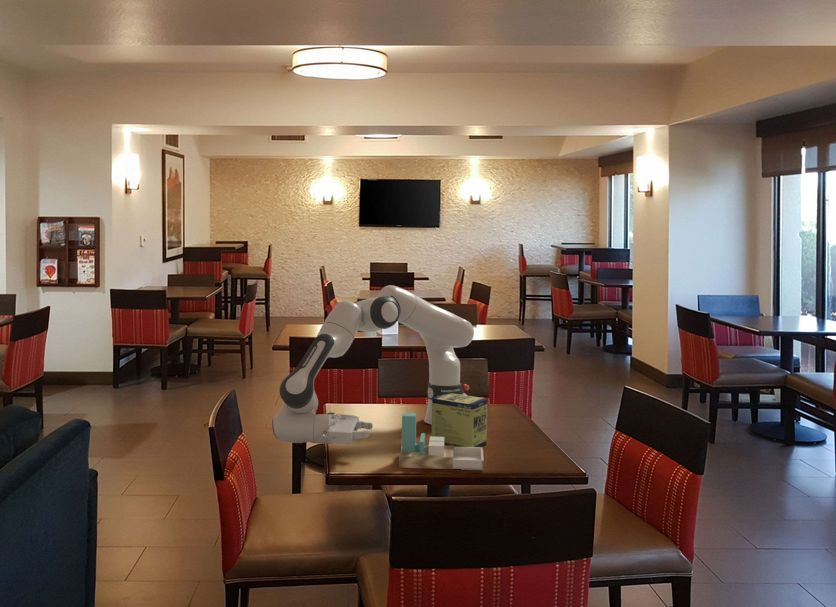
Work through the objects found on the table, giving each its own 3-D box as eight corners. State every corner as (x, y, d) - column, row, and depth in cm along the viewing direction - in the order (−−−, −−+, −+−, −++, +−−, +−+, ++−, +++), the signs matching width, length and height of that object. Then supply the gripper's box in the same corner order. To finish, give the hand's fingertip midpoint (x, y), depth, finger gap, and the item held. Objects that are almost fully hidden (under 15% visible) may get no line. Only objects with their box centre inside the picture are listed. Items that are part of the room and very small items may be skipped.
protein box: (472, 452, 267) (473, 404, 265) (430, 444, 275) (431, 397, 273) (487, 444, 275) (488, 398, 274) (446, 437, 284) (447, 392, 282)
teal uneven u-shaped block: (401, 454, 250) (401, 418, 249) (403, 445, 260) (403, 410, 259) (423, 455, 250) (424, 419, 249) (424, 446, 260) (425, 411, 259)
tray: (452, 469, 248) (453, 459, 248) (453, 455, 262) (453, 446, 262) (483, 470, 248) (483, 460, 247) (482, 456, 262) (482, 447, 261)
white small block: (428, 455, 250) (428, 445, 250) (429, 451, 254) (429, 441, 254) (443, 455, 250) (443, 446, 249) (443, 451, 254) (444, 441, 254)
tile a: (429, 450, 256) (429, 440, 255) (429, 446, 260) (429, 436, 260) (444, 450, 255) (444, 440, 255) (444, 446, 260) (444, 436, 260)
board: (398, 467, 249) (398, 456, 249) (401, 455, 262) (401, 444, 262) (452, 469, 249) (453, 457, 248) (453, 456, 261) (453, 445, 261)
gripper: (319, 427, 245) (366, 428, 245) (330, 411, 266) (374, 412, 265) (319, 448, 246) (366, 449, 245) (330, 430, 266) (374, 431, 266)
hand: (370, 430), depth 255 cm, fingers open, 8 cm apart
